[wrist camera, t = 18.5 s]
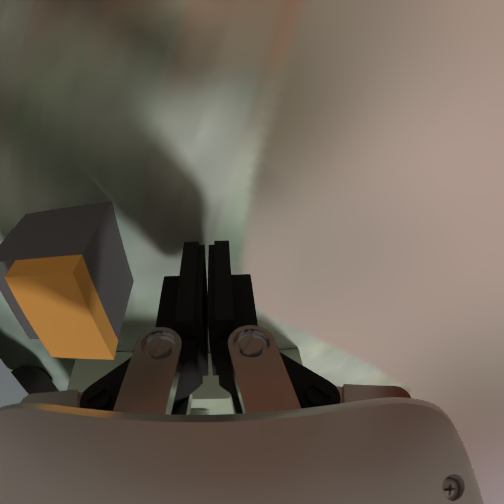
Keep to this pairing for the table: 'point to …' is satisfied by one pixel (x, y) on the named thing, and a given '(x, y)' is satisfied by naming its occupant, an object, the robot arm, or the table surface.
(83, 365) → the tray
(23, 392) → the toy car
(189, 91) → the table surface
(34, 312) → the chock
